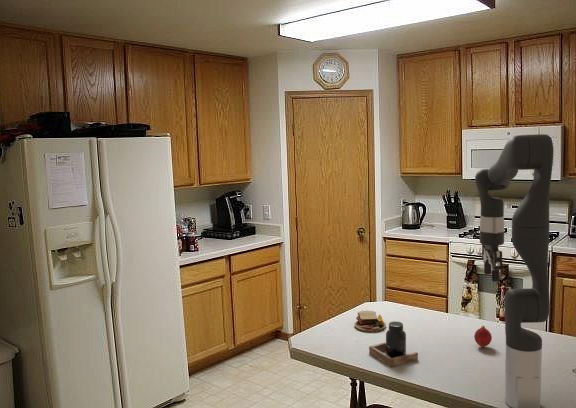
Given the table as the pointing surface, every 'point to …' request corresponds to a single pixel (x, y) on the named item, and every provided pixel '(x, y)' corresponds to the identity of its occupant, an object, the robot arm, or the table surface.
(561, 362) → the table surface
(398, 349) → the supplement bottle
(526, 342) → the robot arm
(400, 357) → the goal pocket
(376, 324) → the toy sandwich meal
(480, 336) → the onion
